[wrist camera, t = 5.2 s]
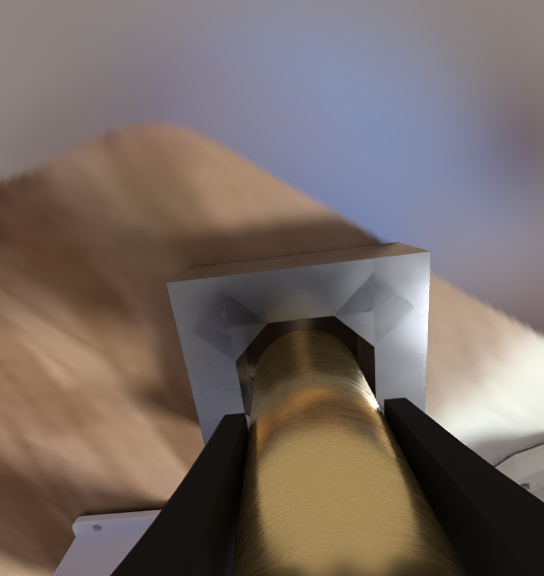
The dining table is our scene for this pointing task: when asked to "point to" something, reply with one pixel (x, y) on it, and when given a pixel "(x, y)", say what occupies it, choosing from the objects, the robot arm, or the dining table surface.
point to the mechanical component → (526, 470)
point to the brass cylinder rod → (329, 475)
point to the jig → (302, 305)
